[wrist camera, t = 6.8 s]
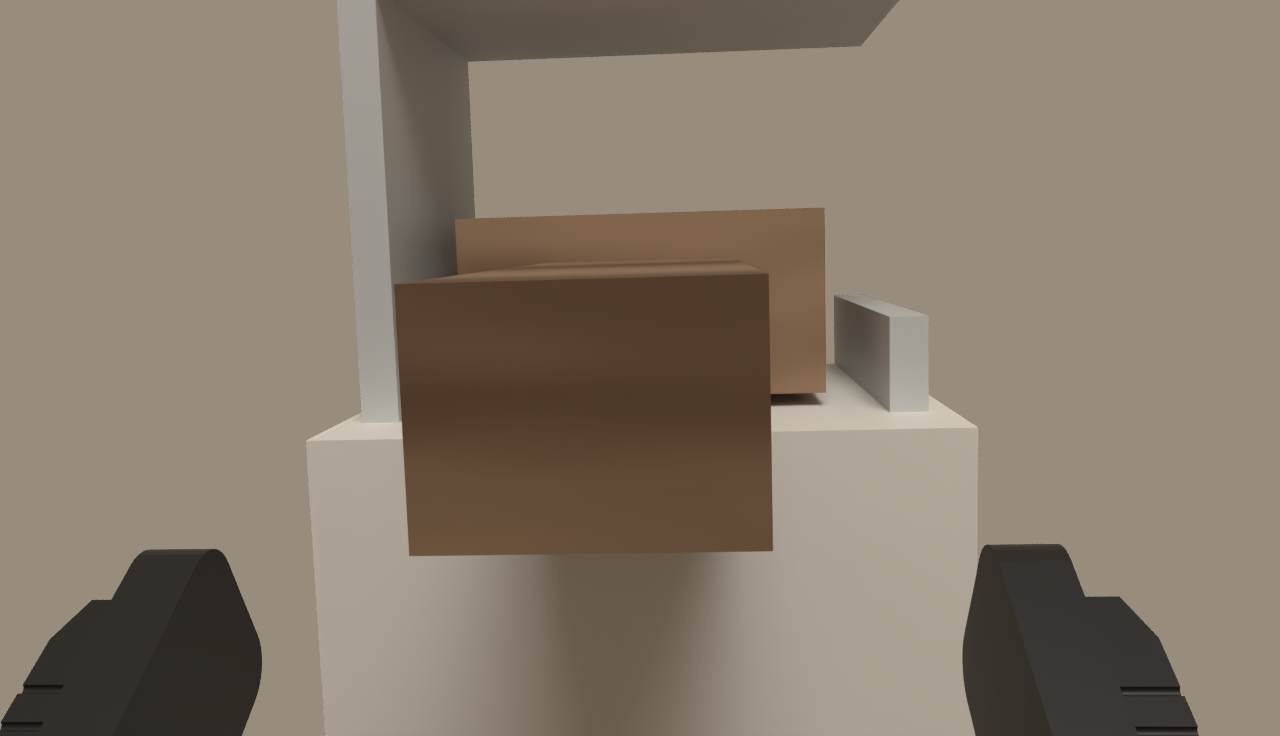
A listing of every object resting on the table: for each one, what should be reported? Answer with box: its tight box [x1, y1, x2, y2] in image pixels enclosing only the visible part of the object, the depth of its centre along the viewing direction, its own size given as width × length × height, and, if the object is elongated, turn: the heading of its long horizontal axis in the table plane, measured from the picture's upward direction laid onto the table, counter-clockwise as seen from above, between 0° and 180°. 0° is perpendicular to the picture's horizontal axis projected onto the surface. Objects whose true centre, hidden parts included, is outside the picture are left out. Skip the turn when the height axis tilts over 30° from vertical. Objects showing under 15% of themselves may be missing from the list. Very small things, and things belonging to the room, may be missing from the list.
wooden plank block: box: [394, 208, 826, 556], centre depth 21 cm, size 20×8×4 cm, turn 177°
